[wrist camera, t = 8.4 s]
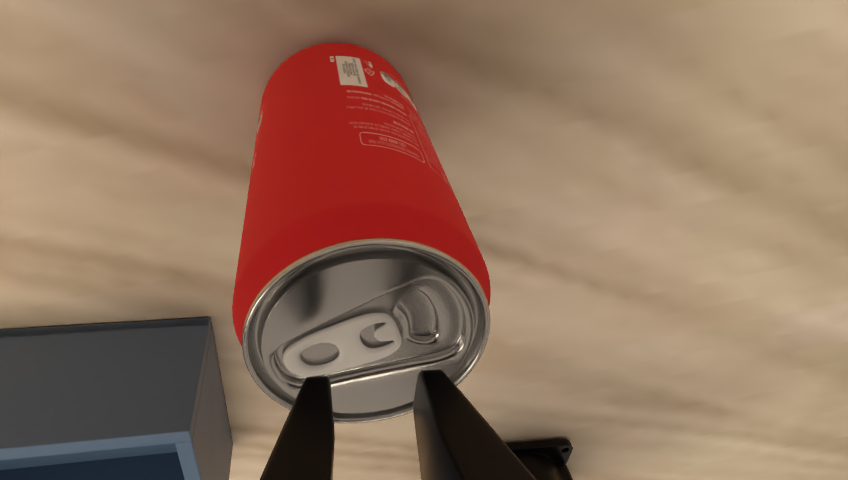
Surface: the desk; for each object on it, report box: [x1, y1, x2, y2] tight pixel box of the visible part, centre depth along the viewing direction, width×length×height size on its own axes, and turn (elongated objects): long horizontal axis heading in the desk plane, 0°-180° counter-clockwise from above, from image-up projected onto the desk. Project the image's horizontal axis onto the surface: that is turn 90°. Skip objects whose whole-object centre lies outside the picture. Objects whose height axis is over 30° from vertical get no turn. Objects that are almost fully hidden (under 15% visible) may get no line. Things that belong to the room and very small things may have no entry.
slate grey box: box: [0, 317, 233, 480], centre depth 24 cm, size 12×6×9 cm
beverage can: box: [232, 43, 490, 423], centre depth 15 cm, size 5×5×12 cm
